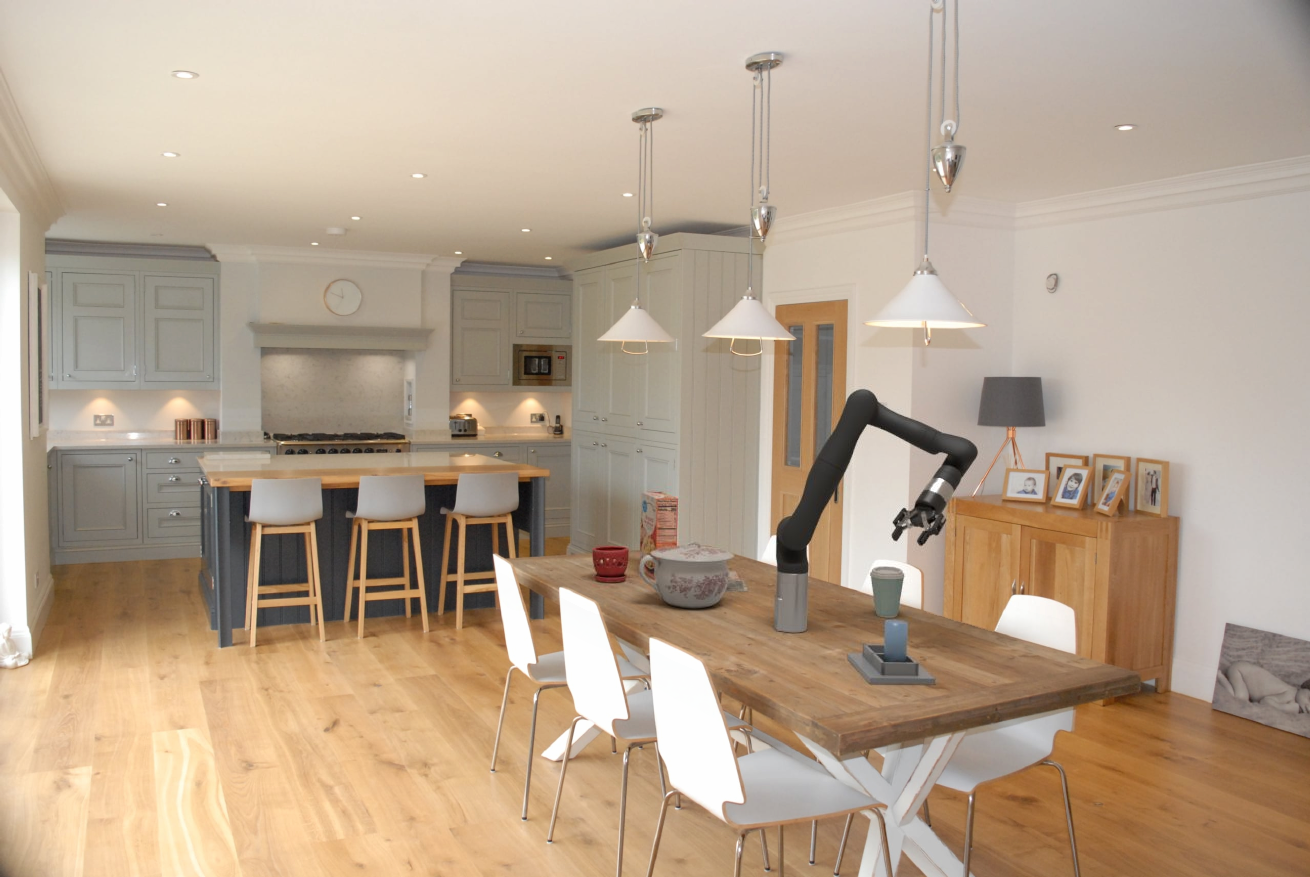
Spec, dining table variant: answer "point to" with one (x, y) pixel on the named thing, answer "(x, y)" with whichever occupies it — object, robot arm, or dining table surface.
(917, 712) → the dining table surface
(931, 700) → the dining table surface
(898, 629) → the pale blue cylinder
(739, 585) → the packaged product
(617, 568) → the plant pot
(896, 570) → the disposable coffee cup
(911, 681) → the tray
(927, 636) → the dining table surface
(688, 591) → the chamber pot
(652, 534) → the orange cereal box
